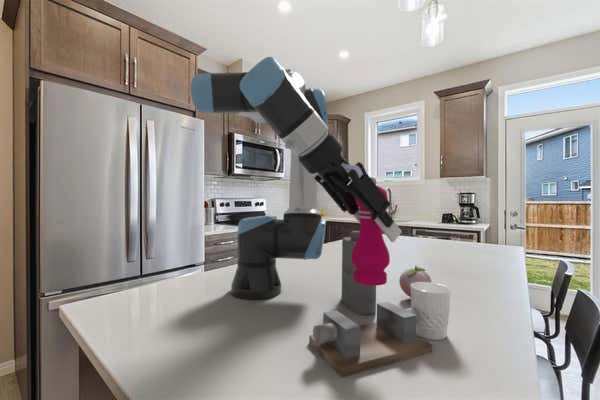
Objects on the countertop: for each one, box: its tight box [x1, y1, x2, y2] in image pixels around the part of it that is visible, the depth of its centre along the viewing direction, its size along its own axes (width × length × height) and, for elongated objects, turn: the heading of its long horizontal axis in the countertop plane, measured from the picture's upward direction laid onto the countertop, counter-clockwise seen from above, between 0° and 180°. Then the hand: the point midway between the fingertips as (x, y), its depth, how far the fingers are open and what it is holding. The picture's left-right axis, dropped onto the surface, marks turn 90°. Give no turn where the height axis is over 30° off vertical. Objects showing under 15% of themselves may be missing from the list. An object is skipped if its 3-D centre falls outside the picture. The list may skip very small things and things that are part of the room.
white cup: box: [410, 281, 452, 341], centre depth 63 cm, size 8×8×10 cm
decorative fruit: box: [398, 265, 432, 298], centre depth 84 cm, size 9×8×10 cm
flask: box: [341, 230, 377, 316], centre depth 79 cm, size 15×6×20 cm, turn 13°
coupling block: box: [308, 301, 433, 378], centre depth 56 cm, size 12×23×6 cm, turn 114°
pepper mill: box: [351, 176, 391, 287], centre depth 56 cm, size 7×7×20 cm
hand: (385, 234), depth 58 cm, fingers closed on pepper mill, 5 cm apart
